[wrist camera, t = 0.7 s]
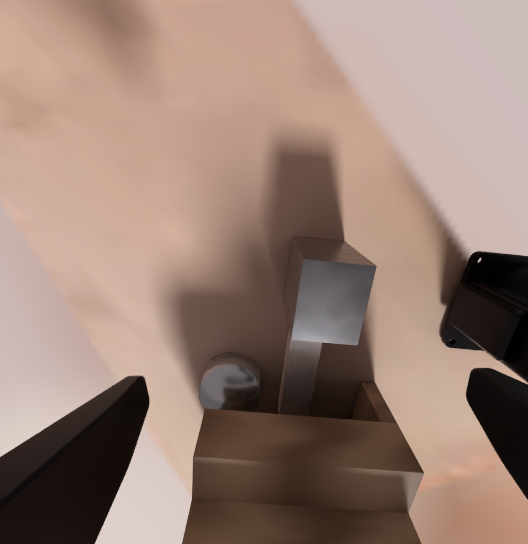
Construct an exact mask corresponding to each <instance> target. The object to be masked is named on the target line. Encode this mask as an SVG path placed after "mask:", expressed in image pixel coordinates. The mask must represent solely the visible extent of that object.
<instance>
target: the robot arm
mask: <svg viewBox="0 0 528 544" xmlns="http://www.w3.org/2000/svg"><path fill="white" fill-rule="evenodd" d="M479 258H481V261H480V262H479V263H478V260H479ZM451 338H453V339H452V340H451V341H449V340H450V339H451ZM442 342H443V343H444V344H445V345H446V346H447V347H450V348H459V349H470V350H481V351H486V352H487V353H488V354H489V355H491V356H492V357H493V358H495V359H496V360H498V361H500V362H502V363H503V364H504V365H505V366H507V367H508V368H509V369H511V370H512V371H513V372H514V373H516V374H517V375H518V376H520V377H521V378H522V379H523V380H525V381H526V382H527V383H528V256H521V255H511V254H500V253H491V252H481V251H479V252H475V253H473V254H472V255H471V256H470V258H469V261H468V263H467V266H466V269H465V272H464V275H463V278H462V281H461V284H460V286H459V289H458V292H457V295H456V298H455V301H454V304H453V307H452V310H451V312H450V315H449V318H448V321H447V324H446V327H445V330H444V333H443V335H442ZM466 398H467V401H468V403H469V405H470V407H471V409H472V410H473V412H474V414H475V416H476V418H477V419H478V421H479V423H480V425H481V426H482V428H483V430H484V432H485V433H486V435H487V437H488V439H489V440H490V442H491V444H492V446H493V447H494V449H495V451H496V453H497V454H498V456H499V458H500V459H501V461H502V462H503V464H504V466H505V467H506V469H507V470H508V472H509V473H510V475H511V476H512V477H513V479H514V480H515V482H516V483H517V485H518V486H519V488H520V489H521V491H522V492H523V494H524V495H525V496H526V498H527V499H528V384H525V383H523V382H521V381H519V380H516V379H514V378H512V377H509V376H507V375H505V374H503V373H500V372H498V371H496V370H494V369H491V368H475V369H473V370H472V371H471V373H470V377H469V381H468V386H467V391H466ZM148 408H149V395H148V390H147V386H146V381H145V378H144V377H143V376H128V377H126V378H124V379H123V380H121V381H120V382H118V383H116V384H115V385H113V386H112V387H110V388H108V389H107V390H105V391H104V392H102V393H101V394H99V395H97V396H96V397H94V398H93V399H91V400H90V401H88V402H87V403H85V404H83V405H82V406H80V407H79V408H77V409H75V410H74V411H72V412H71V413H69V414H67V415H66V416H64V417H63V418H61V419H60V420H58V421H56V422H55V423H53V424H52V425H50V426H49V427H47V428H45V429H44V430H42V431H41V432H39V433H38V434H36V435H34V436H33V437H31V438H30V439H28V440H27V441H25V442H23V443H22V444H20V445H19V446H17V447H15V448H14V449H12V450H11V451H9V452H8V453H6V454H4V455H3V456H1V457H0V544H95V542H96V539H97V537H98V535H99V532H100V530H101V528H102V526H103V524H104V521H105V519H106V517H107V514H108V512H109V510H110V508H111V506H112V503H113V501H114V499H115V496H116V494H117V492H118V490H119V487H120V485H121V483H122V480H123V478H124V476H125V474H126V471H127V469H128V467H129V464H130V461H131V459H132V456H133V453H134V449H135V447H136V444H137V441H138V438H139V435H140V432H141V429H142V426H143V423H144V420H145V417H146V414H147V411H148Z"/></svg>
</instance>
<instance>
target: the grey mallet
mask: <svg viewBox="0 0 528 544" xmlns="http://www.w3.org/2000/svg"><path fill="white" fill-rule="evenodd" d="M375 271H376V265H375V264H373V263H372V262H371V261H369V260H368V259H367V258H366V257H364V256H363V255H362V254H360V253H359V252H358V251H357V250H355V249H354V248H353V247H351V246H350V245H349V244H348V243H346V242H345V241H337V240H327V239H317V238H307V237H297V236H292V241H291V248H290V256H289V263H288V270H287V278H286V285H285V293H284V301H285V306H286V312H287V318H288V324H289V330H288V337H287V343H286V350H285V357H284V364H283V371H282V378H281V384H280V391H279V398H278V414H283V415H296V416H308V415H309V409H310V404H311V399H312V394H313V389H314V383H315V378H316V373H317V368H318V363H319V358H320V352H321V347H322V342H323V343H335V344H346V345H358V341H359V337H360V333H361V329H362V325H363V321H364V316H365V312H366V308H367V304H368V300H369V296H370V291H371V287H372V283H373V279H374V275H375Z"/></svg>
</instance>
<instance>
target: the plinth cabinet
mask: <svg viewBox="0 0 528 544" xmlns="http://www.w3.org/2000/svg"><path fill="white" fill-rule="evenodd" d="M423 475H424V472H423V470H422V468H421V466H420V465H419V463H418V461H417V459H416V457H415V455H414V454H413V452H412V450H411V448H410V446H409V444H408V443H407V441H406V439H405V437H404V435H403V433H402V432H401V430H400V428H399V426H398V424H397V422H396V421H395V419H394V417H393V415H392V413H391V411H390V410H389V408H388V406H387V404H386V402H385V400H384V399H383V397H382V395H381V393H380V391H379V389H378V387H377V386H376V384H375V383H369V382H361V385H360V389H359V393H358V397H357V401H356V405H355V409H354V412H353V416H352V420H348V419H335V418H322V417H309V416H296V415H283V414H270V413H257V412H245V411H232V410H219V409H206V408H205V412H204V416H203V420H202V424H201V428H200V432H199V436H198V440H197V444H196V448H195V452H194V456H193V484H192V502H191V506H190V511H189V515H188V520H187V525H186V529H185V533H184V538H183V542H182V544H421V542H420V539H419V537H418V535H417V532H416V530H415V528H414V525H413V523H412V521H411V519H410V516H409V514H408V513H409V510H410V507H411V505H412V503H413V500H414V498H415V495H416V492H417V490H418V487H419V485H420V482H421V480H422V477H423Z"/></svg>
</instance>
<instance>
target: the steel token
mask: <svg viewBox="0 0 528 544" xmlns="http://www.w3.org/2000/svg"><path fill="white" fill-rule="evenodd" d="M199 400H200V403H201V404H202V406H203V407H204V409H205V408H206V409H219V410H232V411H245V412H253V411H254V410H255V409H256V407H257V406H258V403H259V400H260V371H259V368H258V366H257V365H256V364H255V362H254V361H253V360H252V359H250V358H249V357H247V356H245V355H242V354H239V353H224V354H220V355H218V356H216V357H214V358H213V359H212V360H211V361H210V362H209V363H208V364H207V366H206V368H205V372H204V375H203V378H202V382H201V385H200V388H199Z"/></svg>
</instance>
